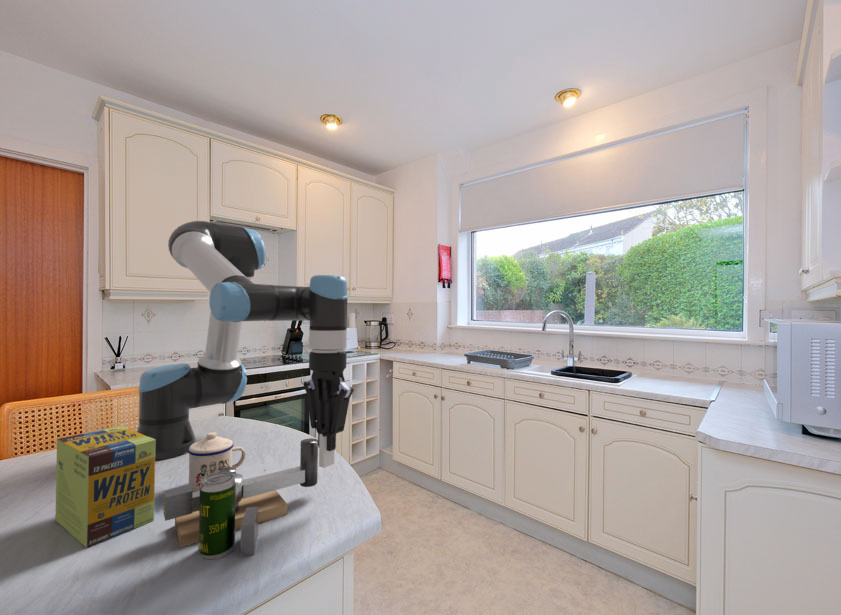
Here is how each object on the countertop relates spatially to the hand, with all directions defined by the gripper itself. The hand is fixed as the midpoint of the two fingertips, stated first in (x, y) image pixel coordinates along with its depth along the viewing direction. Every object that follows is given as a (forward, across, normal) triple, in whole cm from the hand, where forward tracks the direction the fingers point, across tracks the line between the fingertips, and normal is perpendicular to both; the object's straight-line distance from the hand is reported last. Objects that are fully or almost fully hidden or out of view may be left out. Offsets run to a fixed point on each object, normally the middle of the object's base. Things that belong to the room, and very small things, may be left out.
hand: (326, 464), depth 80 cm
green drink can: (+9, +3, +21) cm, 23 cm away
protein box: (+9, +28, +29) cm, 41 cm away
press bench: (+8, +10, +15) cm, 20 cm away
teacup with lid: (+8, +28, +8) cm, 30 cm away
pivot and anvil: (+8, +5, +16) cm, 19 cm away
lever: (+5, +9, +12) cm, 16 cm away
